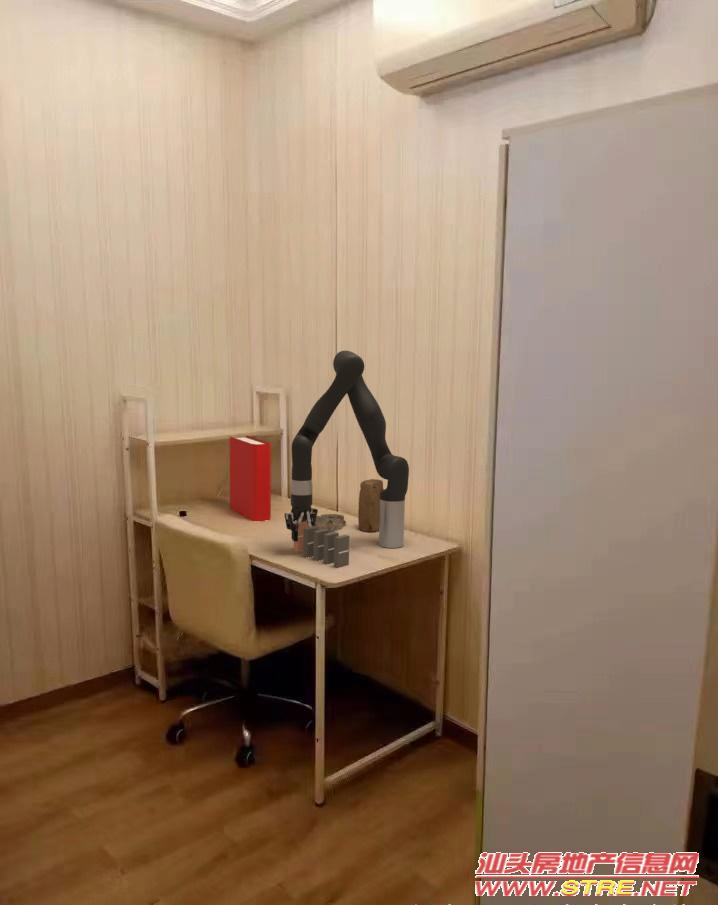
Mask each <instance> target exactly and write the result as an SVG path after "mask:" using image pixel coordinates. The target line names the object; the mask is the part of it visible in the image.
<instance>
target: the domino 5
mask: <svg viewBox="0 0 718 905" xmlns="http://www.w3.org/2000/svg"><path fill="white" fill-rule="evenodd" d="M349 560H350V535H349V534H342V535H339V536H337V537H334V563H333V567H335V568H339V567H340V568H342V567H345V566H346V567H347V566H349V565H350V564H349V563H350V561H349Z"/></svg>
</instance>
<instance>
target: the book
mask: <svg viewBox="0 0 718 905" xmlns="http://www.w3.org/2000/svg"><path fill="white" fill-rule="evenodd" d="M230 437H231V438H230ZM230 437H229V509H230V508H231V510H232V511H233V512H235V511H236V512H235V513H237V512H238V514H239V513H240V514H239V515H241V516H242V515H243V516H242V517H244V516H245V519H248V520H249V519H250V521H251V520H252V521H251V522H253V521H260V522H266V521H265V520H269V521H271V520H270V519H271V518H272V514H271V512H272V510H271V509H272V467H271V466H272V443H271V442H269V441H266V440H262V439H260V438H256V437H253V436H250V435H246V436H244V437H233V436H230Z"/></svg>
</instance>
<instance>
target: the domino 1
mask: <svg viewBox="0 0 718 905" xmlns="http://www.w3.org/2000/svg"><path fill="white" fill-rule="evenodd" d="M295 521H296V520H295ZM296 522H297V521H296ZM295 525H296V524H294V527H295ZM304 528H308V523H307V521H306V520H305V521H304V520H303V521H301V524H300V525H299V527H298V541H297V542H295V541H293V551H297V552H299V551H303V546H304Z"/></svg>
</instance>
